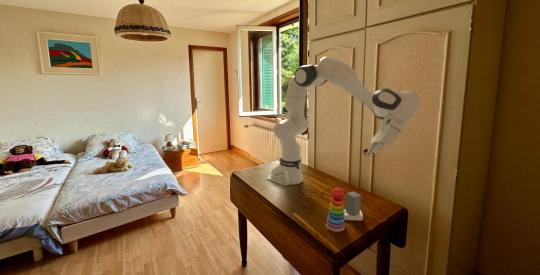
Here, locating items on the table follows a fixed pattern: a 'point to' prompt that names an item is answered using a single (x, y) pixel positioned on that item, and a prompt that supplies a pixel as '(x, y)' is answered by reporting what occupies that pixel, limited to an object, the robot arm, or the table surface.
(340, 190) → the stacking toy
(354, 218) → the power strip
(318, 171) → the table surface
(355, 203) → the gray rectangular block
